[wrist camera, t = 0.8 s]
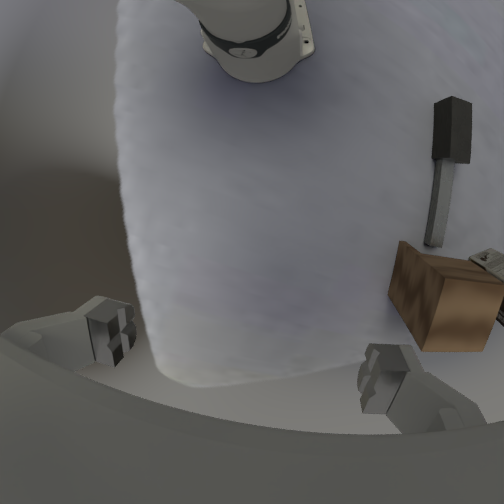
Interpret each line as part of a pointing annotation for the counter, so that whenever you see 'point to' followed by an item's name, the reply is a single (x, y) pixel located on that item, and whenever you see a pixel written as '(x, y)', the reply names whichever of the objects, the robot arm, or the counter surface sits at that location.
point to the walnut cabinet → (444, 300)
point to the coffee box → (492, 271)
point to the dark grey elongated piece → (447, 160)
